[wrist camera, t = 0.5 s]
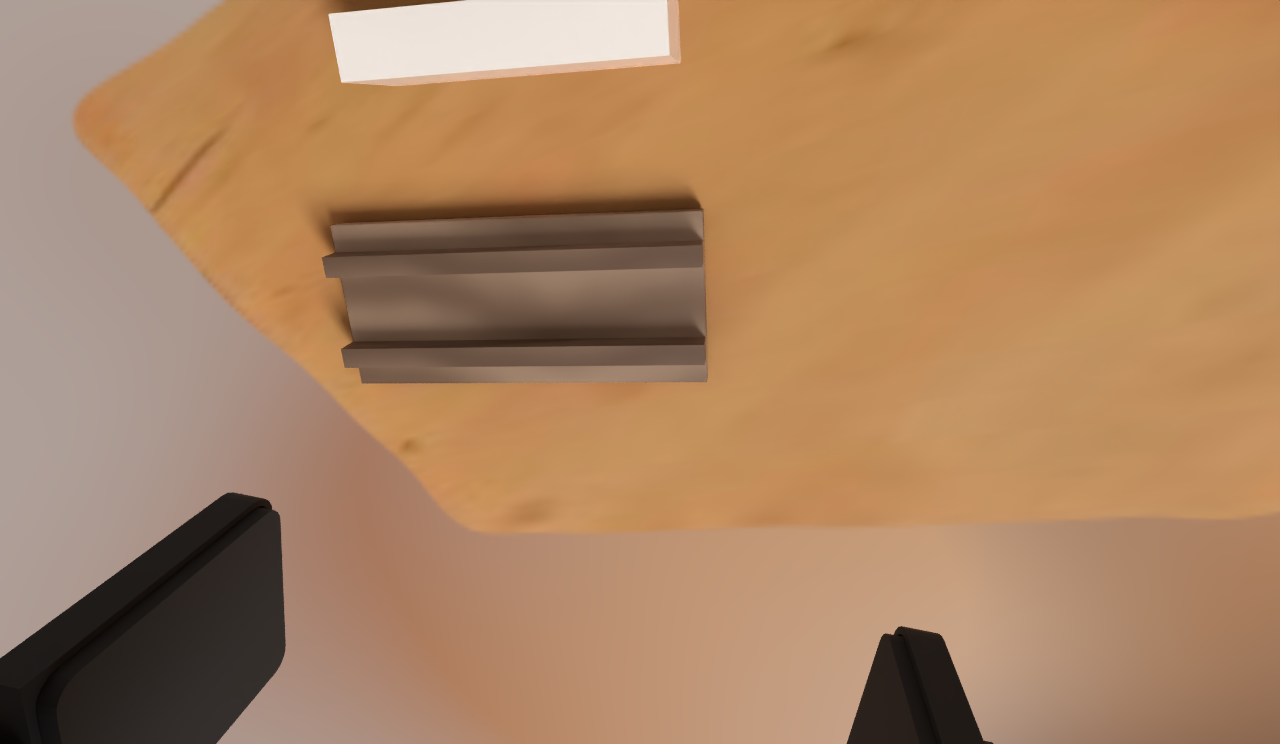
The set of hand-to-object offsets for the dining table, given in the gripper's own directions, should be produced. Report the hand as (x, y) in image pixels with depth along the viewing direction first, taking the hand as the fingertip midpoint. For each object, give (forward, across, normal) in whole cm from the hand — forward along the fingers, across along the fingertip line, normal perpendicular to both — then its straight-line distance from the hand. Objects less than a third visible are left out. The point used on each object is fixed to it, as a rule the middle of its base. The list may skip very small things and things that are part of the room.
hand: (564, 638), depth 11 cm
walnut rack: (+32, +10, +4) cm, 34 cm away
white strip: (+32, +10, -10) cm, 35 cm away
